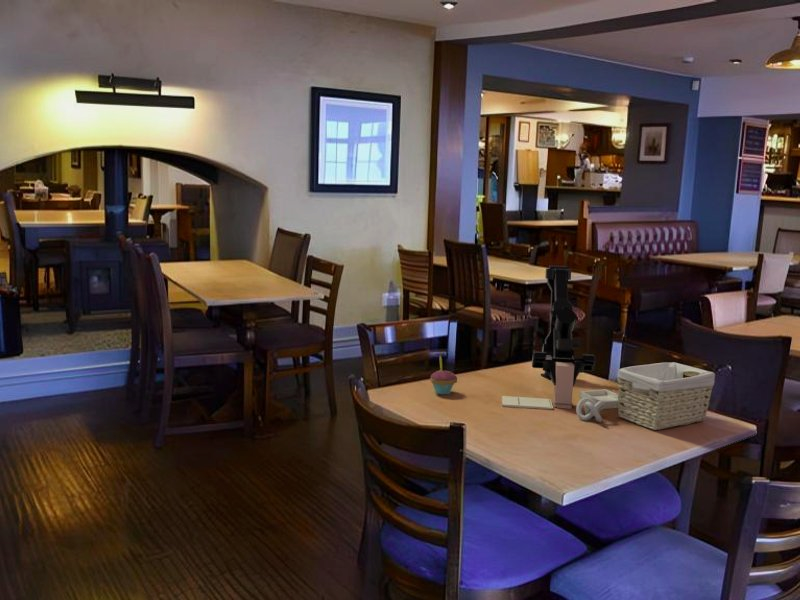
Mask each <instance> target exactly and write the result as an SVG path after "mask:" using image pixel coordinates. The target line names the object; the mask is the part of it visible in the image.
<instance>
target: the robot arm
mask: <svg viewBox="0 0 800 600" xmlns="http://www.w3.org/2000/svg"><path fill="white" fill-rule="evenodd" d="M545 279H546V284H547V286H548V288H549V289H550V291H551V292H550V311H549V333H548V334H547V336H546V337H545V339H544V343H543V344H542V348H541V351H534V352H533V353H532V359H531V367H532V368H533V369H542V371H544V373H540V376H541V377H544V378H545V379H547V380H550V381H552V383H553V386H555V385H556V377H555V367H556V362H565V363H573V365H574V378H573V388H574V386H575V383H576V381H577V378H578V376H579V375H580V374H581V373H584V372H593V371H594V370H595V366H596V363H597V360H596V359H597V358H596V356H595V354H587V353H586V354H585V353H582V354H581V358H579V357H577V358H575V357H574V356H575V350H577V349H578V350H579V349H580V348H581V337H573V333H572V332H573V331H574V327H575V323H576V322H578V316H577V314H576V312H575V311H574V308H573V304H572V303H571V302H570V301H569V291H568V284H569V280H570V281H571V280H572V269H571V268H568V266H567V265H550V264H549V267H546V268H545Z"/></svg>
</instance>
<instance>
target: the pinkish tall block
mask: <svg viewBox="0 0 800 600" xmlns="http://www.w3.org/2000/svg"><path fill="white" fill-rule="evenodd" d="M555 377H556V385H555V386H554V385H553V386H554V387H553V399H552V400H553V403H552V405H553V408H554V407H557V408H558V409H572V408H573V407H572V406H573V391H574V390H573V389H574V387H573V378H574V365H573V363H565V362H556V367H555Z"/></svg>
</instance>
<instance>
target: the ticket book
mask: <svg viewBox="0 0 800 600" xmlns="http://www.w3.org/2000/svg"><path fill="white" fill-rule="evenodd" d="M501 407H506V408H507V407H509V408H522V409H523V408H525V409H535V408H537V409H538V410H539V409H540V410H551V409H553V410H554V404H553V403H552V399H551V398H539V397H526V396H525V397H524V396H523V397H522V396H511V395H510V396H508V395H501ZM537 409H536V410H537Z"/></svg>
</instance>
